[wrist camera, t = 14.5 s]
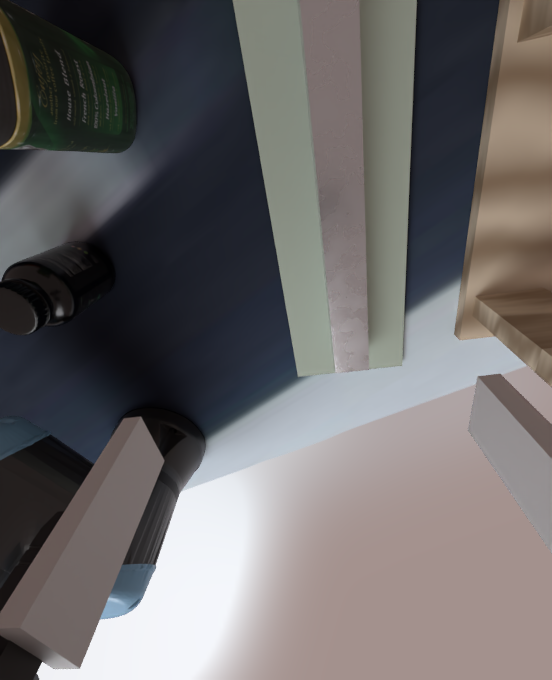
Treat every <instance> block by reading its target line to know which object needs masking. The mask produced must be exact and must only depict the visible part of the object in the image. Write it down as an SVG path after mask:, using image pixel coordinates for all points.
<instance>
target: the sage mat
mask: <svg viewBox="0 0 552 680" xmlns="http://www.w3.org/2000/svg"><path fill="white" fill-rule="evenodd" d="M233 5H234V11H235V16H236V22H237V28H238V34H239V39H240V45H241V51H242V57H243V62H244V68H245V74H246V80H247V85H248V91H249V97H250V103H251V108H252V114H253V120H254V126H255V131H256V137H257V143H258V149H259V154H260V160H261V166H262V172H263V177H264V183H265V189H266V195H267V200H268V206H269V212H270V218H271V223H272V229H273V235H274V241H275V246H276V252H277V258H278V264H279V269H280V275H281V281H282V287H283V292H284V298H285V304H286V310H287V315H288V321H289V327H290V333H291V338H292V344H293V350H294V356H295V361H296V367H297V373H298V377H300V376H310V375H319V374H329V373H335V368H334V362H333V357H332V349H331V339H330V329H329V319H328V308H327V298H326V288H325V278H324V268H323V258H322V248H321V238H320V228H319V218H318V208H317V198H316V188H315V178H314V168H313V158H312V147H311V137H310V127H309V117H308V107H307V97H306V87H305V77H304V67H303V57H302V47H301V37H300V27H299V17H298V7H297V0H233ZM416 7H417V0H359V9H360V47H361V84H362V121H363V158H364V195H365V233H366V270H367V307H368V344H369V369H376V368H385V367H395V366H402V356H403V331H404V306H405V281H406V256H407V231H408V206H409V182H410V157H411V132H412V107H413V82H414V57H415V32H416Z"/></svg>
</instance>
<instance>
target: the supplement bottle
mask: <svg viewBox="0 0 552 680" xmlns="http://www.w3.org/2000/svg"><path fill="white" fill-rule="evenodd" d="M114 282H115V273H114V269H113V266H112V264H111V262H110V261H109V259H108V258H107V257H106V255H105V254H104V253H103V252H102V251H100V250H99V249H98V248H96V247H94V246H92V245H90V244H88V243H84V242H70V243H66V244H63V245H61V246H58V247H55V248H53V249H50V250H48V251H45V252H42V253H40V254H37V255H35V256H32V257H29V258H27V259H24V260H22V261H19V262H17V263H15V264H13V265H11V266H10V267H8V269H7V270H6V271H5V273H4V275H3V277H2V281H1V282H0V328H2V329H4V330H5V331H8V332H10V333H13V334H16V335H27V334H31V333H33V332H35V331H37V330H38V329H40V328H42V327H44V326H47V327H54V326H60V325H63V324H66V323H67V322H69V321H71V320H72V319H73V318H75V317H76V316H77V315H79V314H80V313H82V312H83V311H84V310H86V309H87V308H88V307H90V306H91V305H92V304H94V303H95V302H97V301H98V300H99V299H101V298H102V297H103V296H105V295H106V294H107V293H108V292H109V291H110V290H111V289H112V287H113V285H114Z"/></svg>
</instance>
